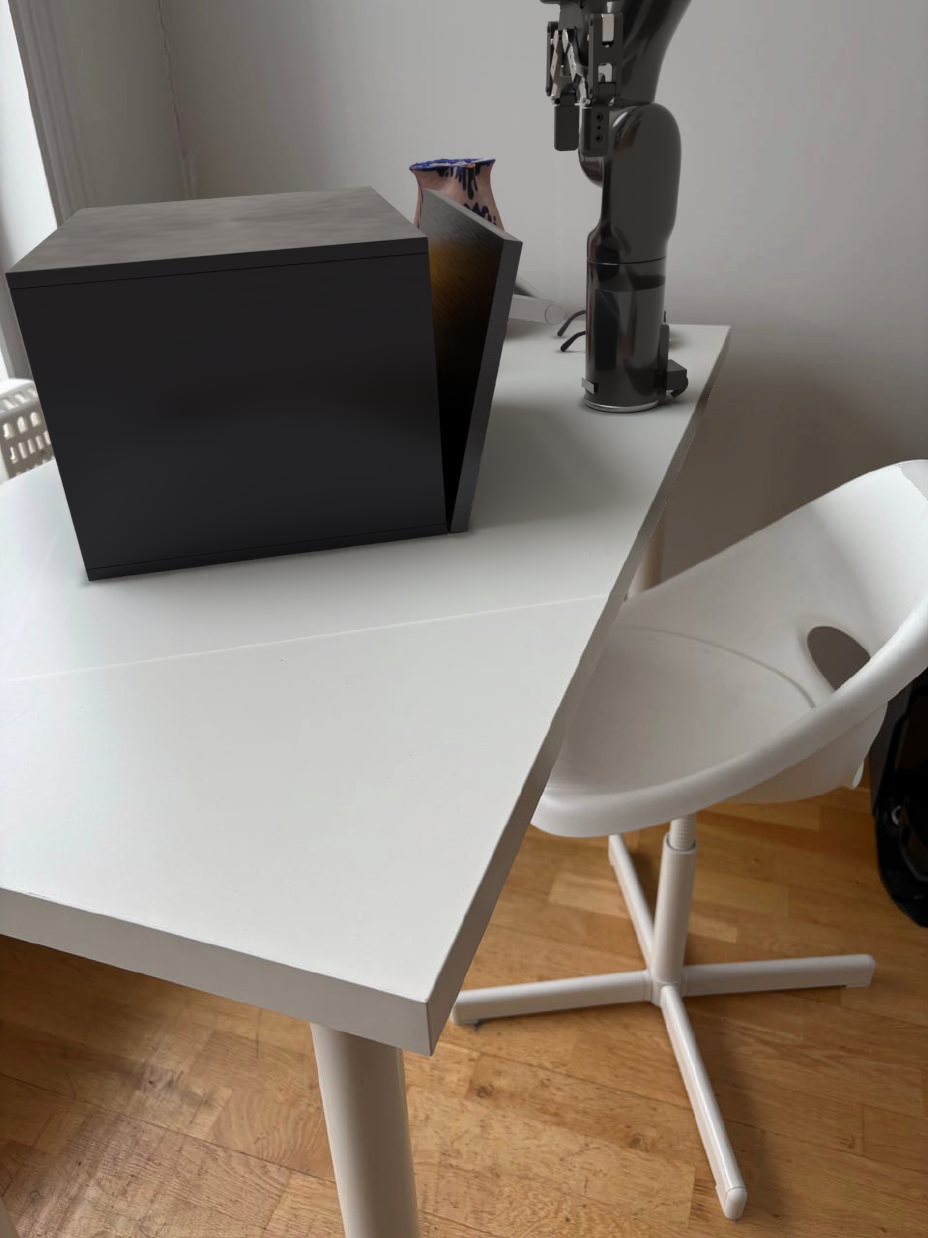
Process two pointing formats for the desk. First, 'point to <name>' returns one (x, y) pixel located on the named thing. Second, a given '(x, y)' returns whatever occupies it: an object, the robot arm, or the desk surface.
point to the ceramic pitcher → (459, 185)
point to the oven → (236, 377)
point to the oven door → (471, 332)
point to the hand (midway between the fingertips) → (579, 153)
